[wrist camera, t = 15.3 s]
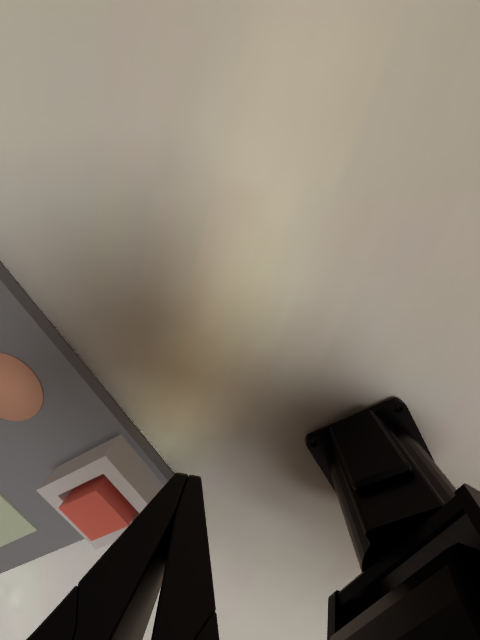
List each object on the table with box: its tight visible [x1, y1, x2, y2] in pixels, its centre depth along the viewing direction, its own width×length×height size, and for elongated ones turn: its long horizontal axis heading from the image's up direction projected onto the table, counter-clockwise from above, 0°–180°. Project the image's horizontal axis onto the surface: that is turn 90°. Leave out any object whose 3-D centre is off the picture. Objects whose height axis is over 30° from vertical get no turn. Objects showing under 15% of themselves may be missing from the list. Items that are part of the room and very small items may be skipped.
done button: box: [59, 474, 136, 541], centre depth 16 cm, size 3×3×2 cm
